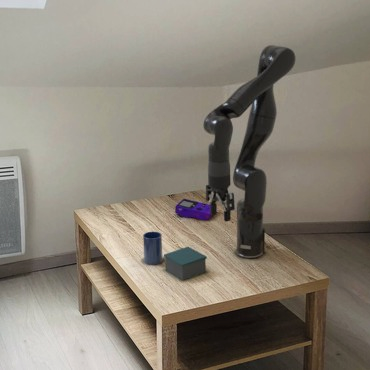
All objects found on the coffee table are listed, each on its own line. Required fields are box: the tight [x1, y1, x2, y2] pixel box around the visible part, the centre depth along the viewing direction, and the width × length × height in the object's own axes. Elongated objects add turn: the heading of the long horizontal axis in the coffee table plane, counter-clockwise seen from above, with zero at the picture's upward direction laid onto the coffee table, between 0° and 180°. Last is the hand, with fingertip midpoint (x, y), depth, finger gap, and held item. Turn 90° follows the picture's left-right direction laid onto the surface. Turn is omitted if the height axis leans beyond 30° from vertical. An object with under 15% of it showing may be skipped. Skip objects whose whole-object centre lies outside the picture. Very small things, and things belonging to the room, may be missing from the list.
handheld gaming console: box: [174, 198, 213, 221], centre depth 291 cm, size 9×5×15 cm
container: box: [163, 246, 208, 281], centre depth 242 cm, size 11×11×6 cm
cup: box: [142, 231, 164, 265], centre depth 250 cm, size 7×7×10 cm
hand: (220, 217), depth 241 cm, fingers open, 8 cm apart
